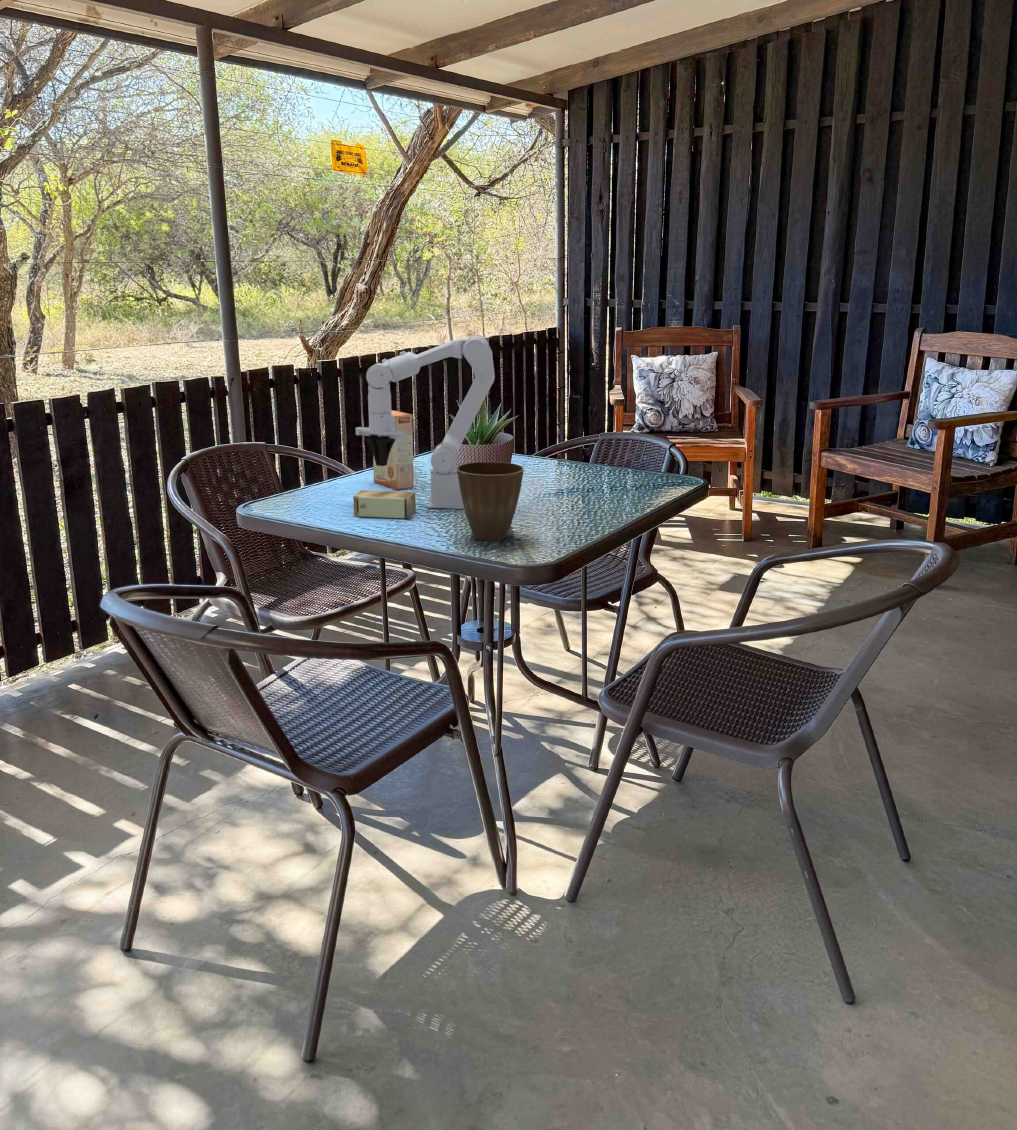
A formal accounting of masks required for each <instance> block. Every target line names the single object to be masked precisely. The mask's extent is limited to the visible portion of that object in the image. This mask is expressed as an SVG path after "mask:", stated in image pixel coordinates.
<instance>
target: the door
mask: <svg viewBox="0 0 1017 1130" xmlns="http://www.w3.org/2000/svg"><path fill="white" fill-rule="evenodd" d="M358 506H359V516H358V517H364V518H365V517H367V518H383V519H384V518H385V519H386V518H387V519H388V518H389V519H407V520H411V519H412V516H411V498H406V518H405V498H386V497H361V496H359V497H358Z"/></svg>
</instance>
